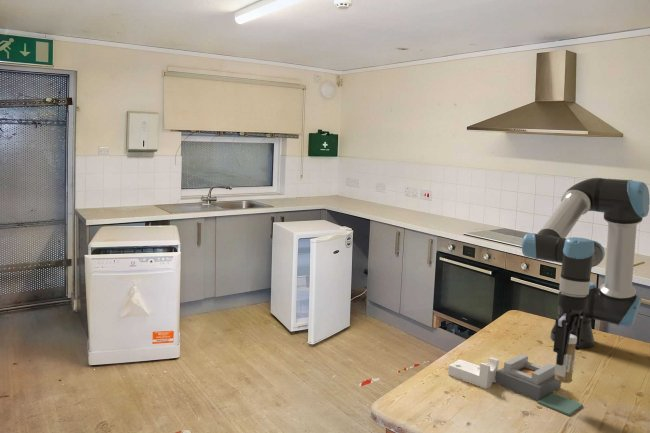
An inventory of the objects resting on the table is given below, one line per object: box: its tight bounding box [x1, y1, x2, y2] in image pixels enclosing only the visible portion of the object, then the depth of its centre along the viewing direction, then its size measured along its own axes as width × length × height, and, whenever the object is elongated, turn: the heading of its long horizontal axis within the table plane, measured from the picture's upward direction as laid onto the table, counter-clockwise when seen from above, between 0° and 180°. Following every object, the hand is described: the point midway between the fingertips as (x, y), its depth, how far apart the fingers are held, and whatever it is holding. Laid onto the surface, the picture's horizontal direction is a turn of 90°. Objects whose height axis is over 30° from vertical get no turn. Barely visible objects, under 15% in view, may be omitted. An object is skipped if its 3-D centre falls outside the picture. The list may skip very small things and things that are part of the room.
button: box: [521, 370, 534, 375], centre depth 167 cm, size 5×5×3 cm
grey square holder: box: [494, 353, 562, 402], centre depth 167 cm, size 14×14×7 cm
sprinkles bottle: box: [555, 334, 577, 384], centre depth 154 cm, size 5×5×14 cm
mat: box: [537, 392, 584, 417], centre depth 156 cm, size 9×9×1 cm
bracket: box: [447, 356, 500, 390], centre depth 170 cm, size 13×7×8 cm, turn 48°
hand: (563, 372), depth 154 cm, fingers closed on sprinkles bottle, 4 cm apart
